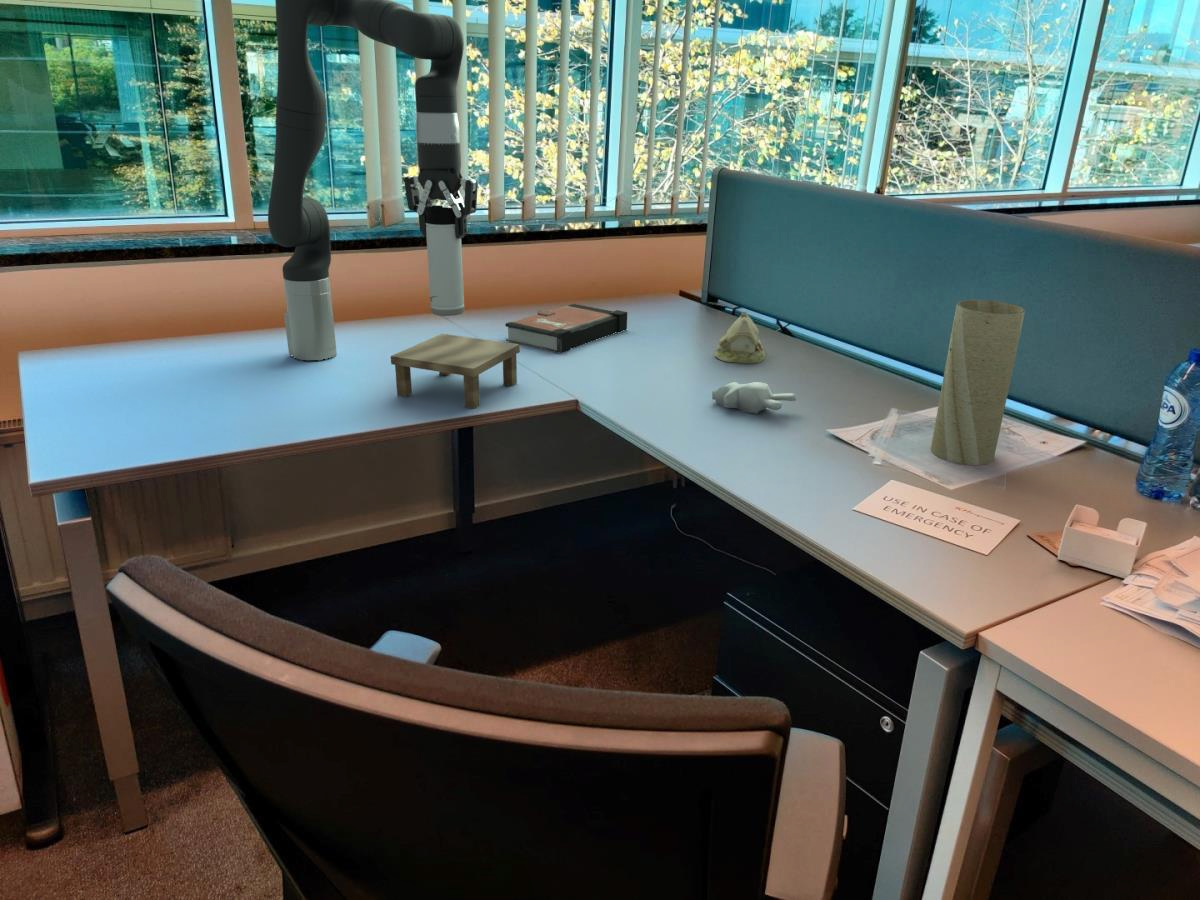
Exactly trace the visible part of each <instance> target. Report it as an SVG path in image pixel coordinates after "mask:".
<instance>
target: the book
mask: <svg viewBox="0 0 1200 900" xmlns="http://www.w3.org/2000/svg"><path fill="white" fill-rule="evenodd" d="M505 327H507V329H508V330H507V331H508V335H507V337H508V338H505V341H506V342H509V343H514V344H520V345H523V346H528V347H532V346H533V348H536V347H537V349H541V348H542V349H541V350H545V349H546V351H549V350H550V352H554V351H555V353H558V352H559V354H564V353H566V351H567V352H569V350H570V351H571V348H572V349H574V347H575V348H578V347H581V346H583V344H584V345H586V344H588V342H589V343H592V342H595V341H597V340H596V339H598V340H600V339H599V338H601V339H603V338H606V337H609V336H611V334H612V335H614V334H613V333H615V332H621V331H623V330H626V329H627V330H628V312H627V311H623V310H618V309H617V310H608V309H602V308H598V307H593V306H586V305H582V304H576V303H571V304H568V305H564V306H561V307H558V308H555V309H550V310H546V309H544V310H538V311H537V313H536V314H533V315H530V316H526V317H523V318H519V319H517V320H512V321H508V322H506V323H505ZM627 330H626V331H627ZM623 332H624V331H623ZM621 333H622V332H621ZM615 334H616V333H615ZM608 335H609V336H608ZM605 336H606V337H605ZM602 337H603V338H602ZM594 340H595V341H594ZM591 341H592V342H591ZM585 343H586V344H585ZM580 345H581V346H580ZM577 346H578V347H577ZM563 352H564V353H563Z"/></svg>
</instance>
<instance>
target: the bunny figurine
mask: <svg viewBox="0 0 1200 900" xmlns="http://www.w3.org/2000/svg"><path fill="white" fill-rule="evenodd" d="M711 397H712V400H715V402H716V403H717V404H718V405H719V406H721V407H724V408H729V409H739V411H742V413H743V412H744V413H750V414H754V415H757V414H759V412H761V411H765V410H766V409H769V410H773V411H779V410H781V409H782V407H783V402H782V401H788V402H795V401H797V398H796V394H795V393H791V392H788V393H785V392H784V393H772V391H771V388H770V387H769V384H767V383H765V382H760V381H753V382H749V383H743V384H742V383H741V384H740V383H738V382H737V381H733V382H730V383H728V384H726V385H724V386H721V387H719V388H717V389H715V390H712V391H711Z"/></svg>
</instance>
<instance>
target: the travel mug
mask: <svg viewBox="0 0 1200 900" xmlns="http://www.w3.org/2000/svg"><path fill="white" fill-rule="evenodd" d="M425 213H426V235H427V236H426V249H427V265H428V283H429V284H428V285H429V297H430V299H429V302H430V313H431V314H432V315H434V316H435V315H436V316H440V317H441V316H442V317H451V316H452V317H453V316H458V315H461V314H464V312H465V295H464V294H465V293H464V277H463V275H464V273H463V254H462V253H463V251H462V250H463V249H462V238H461V239H459V238H456V233H455V218H456V215H455V213H454V211H453V209H452V207H446V206H445V207H444V206H443V205H436V204H434V205H433V204H432V206H431V207H425Z"/></svg>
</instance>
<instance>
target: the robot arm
mask: <svg viewBox="0 0 1200 900" xmlns="http://www.w3.org/2000/svg"><path fill="white" fill-rule="evenodd" d="M274 1H275V19H276V34H277V36H276V37H277V38H276V39H277V88H276V89H277V90H276V103H275V104H276V105H275V107H276V108H275V141H274V143H275V145H274V157H273V158H274V159H273V172H272V179H271V180H272V181H271V189H270V195H269V202H268V208H267V209H268V211H267V223H268V224H267V226H268V230H269V233H270V235H271V237H272V238H273V240H274V242H275V243H276V244H277V245H279V246H281V247H284V248H294V247H295V250H294V252H293V253H292V255H291V257H290V258H289V259H288V260H287V261H285V262H284V263H283V265H282V270H281V271H282V278H283V286H284V293H285V301H286V310H287V311H286V312H284V314H283V316H284V325H285V331H286V340H287V349H288V350H287V351H288V356H289V355H293V356H294V357H295V358H297V359H296V360H298V359H301V360H300V361H303V360H318V361H323V359H325V360H329V359H332V358H333V357H336V356H337V354H338V353H337V342H336V333H335V322H334V321H335V319H334V312H333V311H334V310H333V303H332V301H333V300H332V291H331V283H330V274H329V273H330V272H329V269H330V265H331V262H332V251H331V250H332V249H331V248H332V247H331V229H330V220H329V216H328V214H327V213H328V212H327V210H326V208H325V207H324V205H323V204H322V203H321V202H320V201H318V200H317V199H315V198H312V197H304V189H305V188H304V187H305V183H306V180H307V176H308V175H309V172H310V169H311V168H312V165H313V164H314V162H315V160H316V158H317V156H318V155H319V153H320V150H321V148H322V146H323V143H324V140H325V135H326V127H327V126H326V125H327V123H326V122H327V109H328V108H327V106H328V105H327V100H326V95H325V92H324V89H323V87H322V85H321V83H320V81H319V79H318V76H317V74H316V72H315V70H314V67H313V66H312V62H311V60H310V56H309V50H308V47H309V46H308V27H309V26H317V27H329V26H331V27H348V28H352V29H356V30H358V31H359V32H360V33H361V34H362V35H363V36H365V37H366V38H369V39H371V40H373V41H375V42H378V43H381V44H383V45H386V46H387V45H388V46H390V47H393V48H396V49H397V50H399V51H400V52H401V53H403V54H405V55H406V56H409V57H412V58H415V59H420V60H430V61H431V64H430V67H429V68H430V69H429V72H428V73H427V74H424V75H422V76H419V77H418V78H416V80H415V83H414V84H415V85H414V87H415V88H414V89H415V90H414V92H415V93H414V95H415V106H416V107H415V108H416V121H415V133H416V134H415V135H416V136H415V137H416V148H417V152H416V153H417V165H418V168H419V173H418V175H417V176H415V175H408V176H405V177H404V178H403V182H404V183H403V184H404V189H405V194H406V195H405V196H406V202H407V208H408V210H409V211H410V212H412V211H413V212H415V213H416V214H417V215H418V222H419V231H420V233H421V234H422V236H423V237H427V235H426V213H425V207H432V205H433V204H434V203H435V202H436V200H441V201H447V204H448V205H449V207H450V208H452V209H453V211H454V213H455V215H456V218H455V233H456V238H459V239H461V240H462V239H463V238H465V235H467V233H468V225H467V223H468V222H467V216H469V215H472V214H474V213H476V212H477V204H478V184H479V181H478V180H477V179H476V178H472V179H471V178H470V179H469V178H465V177H464V178H463V175H462V173H461V168H462V158H461V157H462V156H461V154H462V153H461V136H460V133H461V132H460V130H461V129H460V123H459V115H458V99H457V98H458V97H457V95H458V94H457V85H458V81H459V77H460V71H461V66H462V61H463V55H464V48H465V43H464V42H465V41H464V40H465V39H464V33H463V31H462V28H461V26H460V24H459V22H458V21H457V20H456V19H455V18H454V17H452V16H450V15H446V14H435V13H425V12H420V11H414V10H413V9H412V8H411V7H409V6H408V5H405V4H404V3H399V2H397V1H394V0H274ZM420 186H421V188H422V189H423V191H422V193H421V196H420V193H419V187H420ZM461 188H462V191H464V197H463V196H462V195H461V193H460V189H461ZM335 355H336V356H335ZM293 356H292V357H293ZM294 357H293V358H294ZM331 357H332V358H331ZM295 358H294V359H295ZM328 358H329V359H328Z"/></svg>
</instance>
